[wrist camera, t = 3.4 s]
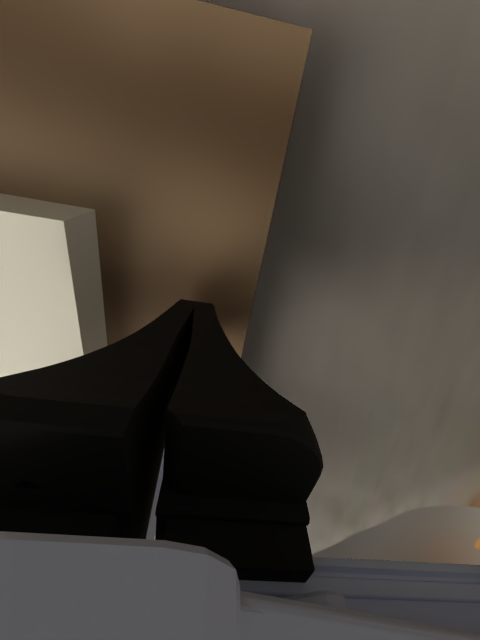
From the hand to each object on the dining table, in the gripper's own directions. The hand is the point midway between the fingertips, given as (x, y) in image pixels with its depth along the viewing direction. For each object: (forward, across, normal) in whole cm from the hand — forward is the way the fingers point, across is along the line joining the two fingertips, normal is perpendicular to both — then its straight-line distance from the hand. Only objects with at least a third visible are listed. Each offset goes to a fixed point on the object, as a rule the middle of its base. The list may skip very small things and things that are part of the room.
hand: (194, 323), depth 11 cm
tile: (+1, +6, 0) cm, 6 cm away
